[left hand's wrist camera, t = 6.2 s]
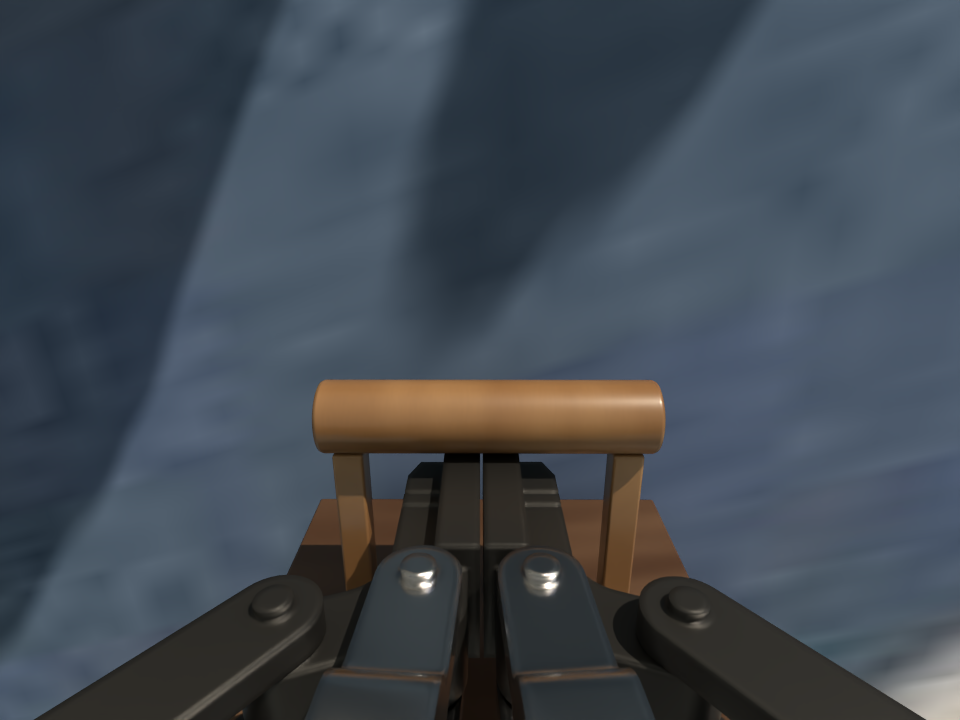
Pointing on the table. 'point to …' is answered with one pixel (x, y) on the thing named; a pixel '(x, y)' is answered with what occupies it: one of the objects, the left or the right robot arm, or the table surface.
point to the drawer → (482, 429)
